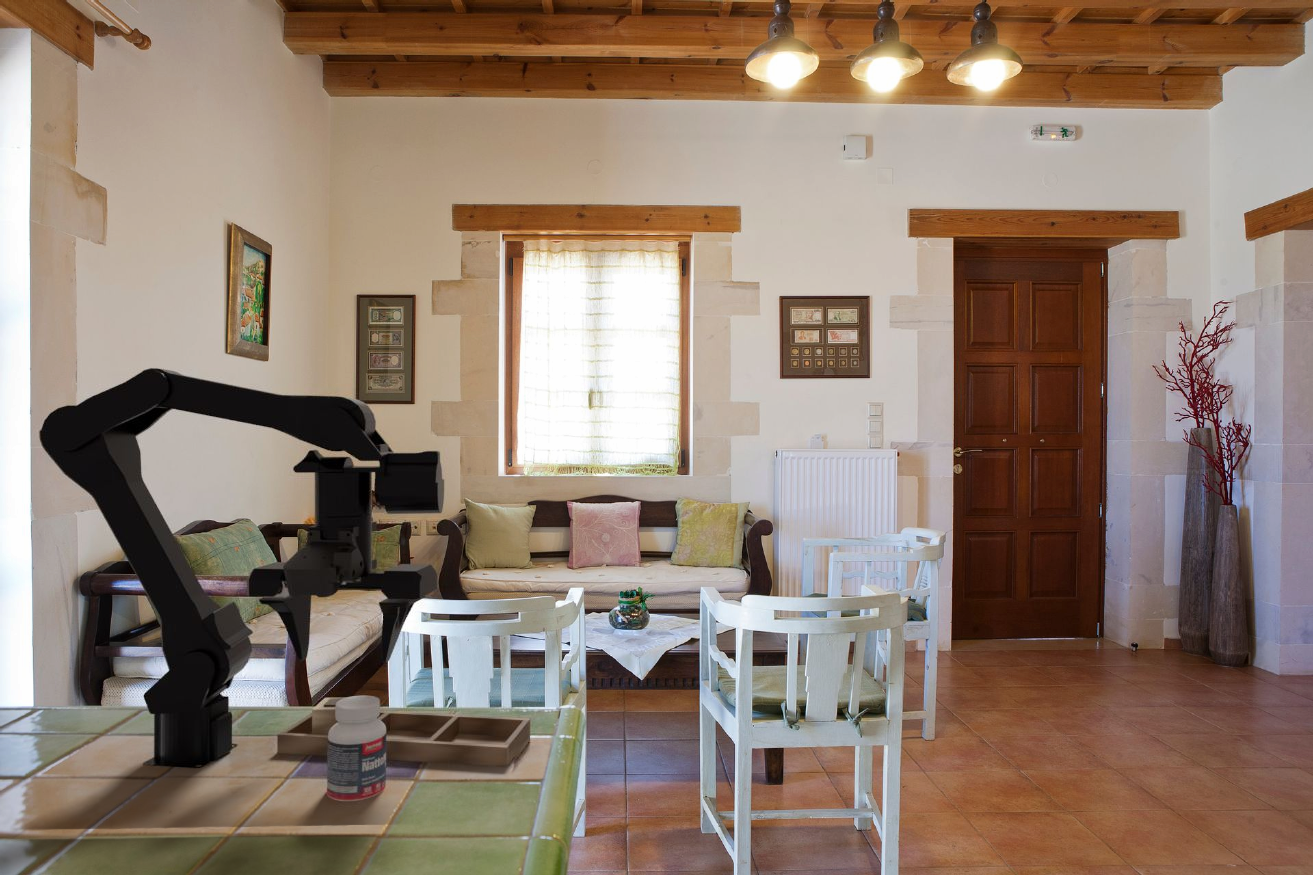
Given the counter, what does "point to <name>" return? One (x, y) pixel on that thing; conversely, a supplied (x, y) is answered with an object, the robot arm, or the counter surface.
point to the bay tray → (428, 738)
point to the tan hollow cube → (324, 716)
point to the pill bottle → (356, 750)
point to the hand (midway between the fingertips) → (344, 660)
